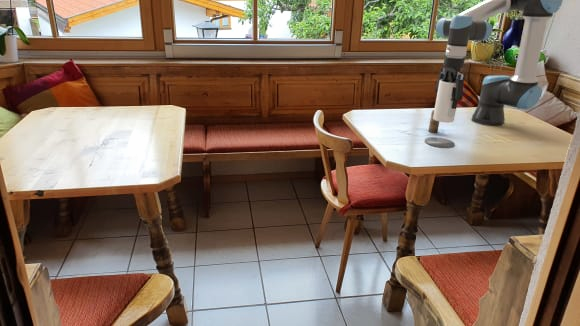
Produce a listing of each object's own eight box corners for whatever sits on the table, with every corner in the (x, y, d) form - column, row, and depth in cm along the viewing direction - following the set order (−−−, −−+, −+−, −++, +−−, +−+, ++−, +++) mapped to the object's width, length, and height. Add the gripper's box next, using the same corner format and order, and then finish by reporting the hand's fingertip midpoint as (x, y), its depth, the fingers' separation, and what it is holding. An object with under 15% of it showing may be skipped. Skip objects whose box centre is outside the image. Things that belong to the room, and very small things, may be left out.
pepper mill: (434, 130, 198) (438, 108, 194) (439, 132, 194) (443, 110, 190) (426, 130, 197) (430, 108, 193) (431, 133, 193) (435, 110, 189)
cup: (455, 123, 172) (462, 83, 166) (434, 121, 174) (440, 82, 168) (452, 118, 180) (459, 80, 174) (432, 116, 181) (438, 78, 175)
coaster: (443, 138, 188) (444, 136, 187) (460, 147, 177) (460, 145, 176) (419, 139, 185) (419, 137, 184) (434, 148, 174) (434, 147, 174)
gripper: (432, 52, 176) (423, 106, 184) (462, 60, 157) (451, 120, 165) (448, 53, 178) (438, 106, 186) (480, 61, 159) (468, 120, 167)
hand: (444, 113), depth 176 cm, fingers closed on cup, 8 cm apart
